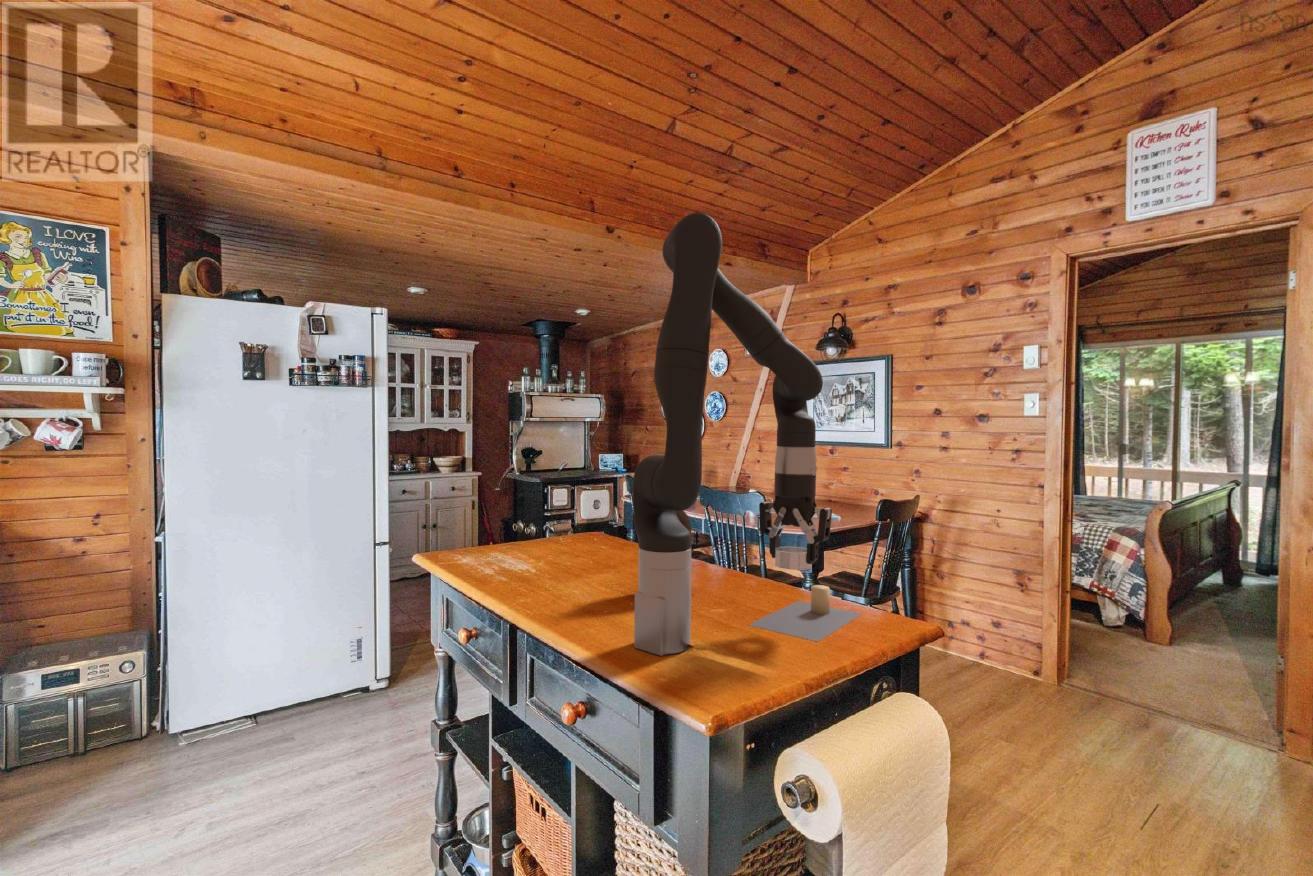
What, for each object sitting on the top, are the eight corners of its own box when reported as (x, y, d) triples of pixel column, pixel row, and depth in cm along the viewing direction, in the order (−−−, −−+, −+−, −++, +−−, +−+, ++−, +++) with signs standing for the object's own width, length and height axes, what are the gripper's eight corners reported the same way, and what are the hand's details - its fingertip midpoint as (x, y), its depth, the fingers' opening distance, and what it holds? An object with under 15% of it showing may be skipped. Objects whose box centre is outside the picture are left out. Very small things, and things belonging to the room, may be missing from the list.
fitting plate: (817, 647, 105) (817, 613, 105) (747, 630, 114) (748, 598, 114) (862, 618, 122) (862, 588, 121) (798, 605, 130) (798, 577, 130)
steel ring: (801, 571, 108) (801, 554, 108) (768, 565, 112) (768, 549, 112) (817, 566, 113) (817, 550, 113) (785, 560, 117) (786, 545, 117)
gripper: (751, 469, 114) (749, 557, 114) (822, 474, 105) (820, 569, 105) (771, 468, 120) (769, 552, 120) (840, 472, 111) (838, 563, 111)
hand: (793, 560), depth 113 cm, fingers closed on steel ring, 6 cm apart
